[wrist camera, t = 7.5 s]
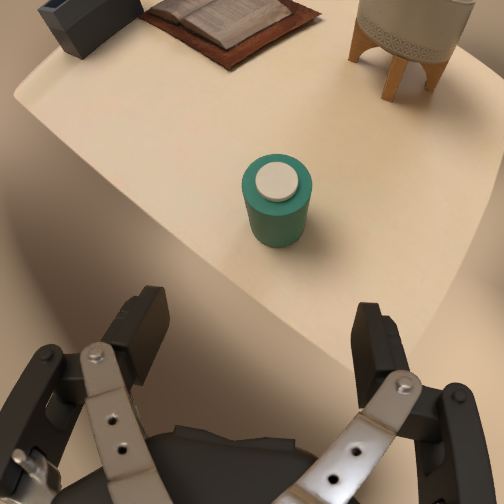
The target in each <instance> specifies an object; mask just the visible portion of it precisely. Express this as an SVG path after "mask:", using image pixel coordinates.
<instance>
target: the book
mask: <svg viewBox="0 0 504 504" xmlns="http://www.w3.org/2000/svg"><path fill="white" fill-rule="evenodd" d="M320 14H321V13H319V12H317V11H314V10H312V9H310V8H307V7H305V6H303V5H301V4H299V3H295V2H293V1H292V0H164V1H162V2H160V3H158V4H157V5H155V6H153V7H151V8H150V10H148V11H146V12H145V13H143V14H141V15H139V16H138V17H139V18H142V19H144V20H146V21H147V22H149V23H151V24H153V25H155V26H157V27H159V28H160V29H162V30H165V31H166V32H168V33H169V34H171V35H173V36H174V37H178V39H180V40H182V41H184V42H185V43H186V44H188V45H190V46H191V47H193V48H195V49H196V50H200V52H201V53H203V54H205V55H206V56H208V57H210V58H211V59H213V60H214V61H215V62H217V63H219V64H221V65H223V66H224V67H225V68H227V69H229V68H231V67H232V66H233V65H234V64H237V63H238V62H240V61H242V60H243V59H245V58H246V57H247V56H248V55H250V54H252V53H253V52H255V51H256V50H258V49H259V48H260V47H262V46H264V45H267V43H270V42H271V41H273V40H276V39H277V38H279V37H281V36H282V35H284V34H286V33H287V32H289V31H291V30H293V29H295V28H297V27H299V26H301V25H302V24H305V23H306V22H308V21H309V20H312V19H313V18H315V17H317V16H319V15H320ZM321 15H322V14H321Z"/></svg>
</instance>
